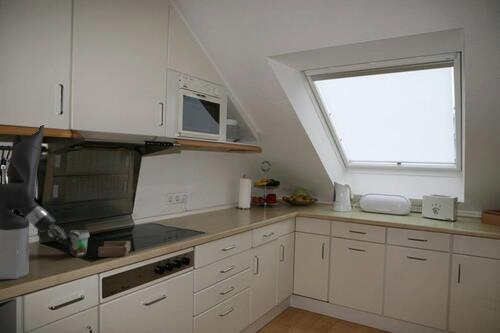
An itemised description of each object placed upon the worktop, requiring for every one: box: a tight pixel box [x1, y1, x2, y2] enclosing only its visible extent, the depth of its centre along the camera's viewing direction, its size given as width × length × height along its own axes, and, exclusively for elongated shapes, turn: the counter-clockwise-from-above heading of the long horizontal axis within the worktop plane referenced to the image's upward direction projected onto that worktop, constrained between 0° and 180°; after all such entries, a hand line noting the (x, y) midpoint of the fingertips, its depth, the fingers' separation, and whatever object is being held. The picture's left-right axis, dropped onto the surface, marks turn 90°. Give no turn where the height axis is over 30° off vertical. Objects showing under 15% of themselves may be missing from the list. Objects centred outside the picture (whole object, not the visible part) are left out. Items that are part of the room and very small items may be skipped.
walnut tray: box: [97, 240, 131, 258], centre depth 158 cm, size 12×12×4 cm
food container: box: [69, 229, 90, 258], centre depth 156 cm, size 12×6×10 cm, turn 44°
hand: (70, 246), depth 155 cm, fingers closed
